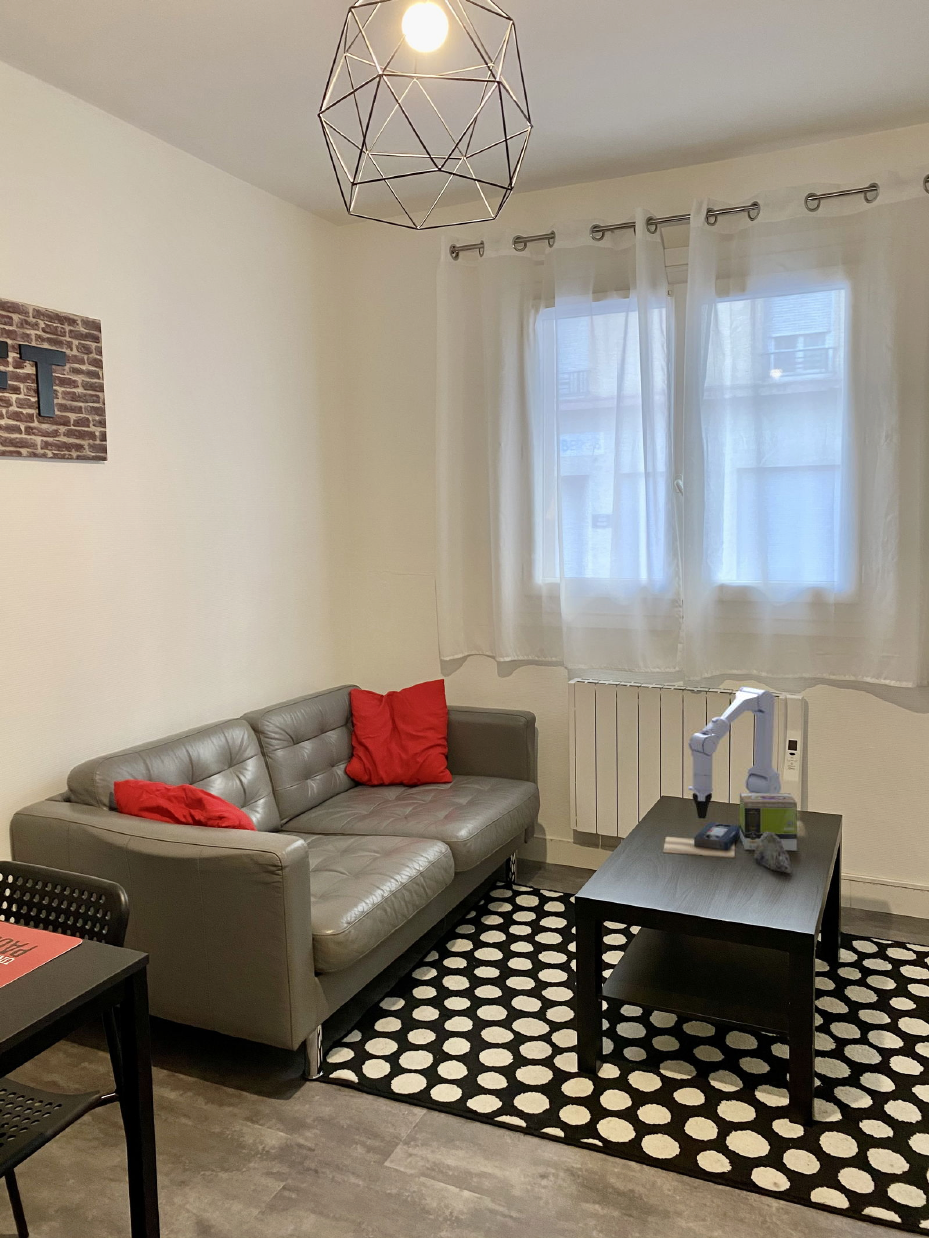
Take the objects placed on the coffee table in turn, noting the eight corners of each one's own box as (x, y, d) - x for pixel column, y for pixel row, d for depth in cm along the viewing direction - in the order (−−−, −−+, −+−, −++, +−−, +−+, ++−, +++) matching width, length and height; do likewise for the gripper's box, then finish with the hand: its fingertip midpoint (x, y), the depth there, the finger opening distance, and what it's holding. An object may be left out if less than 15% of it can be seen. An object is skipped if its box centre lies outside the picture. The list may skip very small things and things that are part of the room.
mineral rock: (790, 879, 262) (791, 843, 261) (749, 874, 266) (749, 838, 265) (794, 863, 274) (795, 828, 273) (754, 858, 278) (755, 824, 277)
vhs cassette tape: (709, 821, 304) (742, 825, 299) (709, 830, 304) (742, 835, 299) (693, 835, 287) (727, 840, 283) (693, 845, 288) (727, 850, 283)
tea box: (790, 840, 293) (791, 792, 291) (797, 852, 283) (798, 802, 281) (738, 838, 295) (739, 791, 293) (743, 850, 285) (744, 800, 283)
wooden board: (666, 837, 297) (666, 836, 296) (734, 842, 291) (734, 841, 291) (663, 852, 284) (663, 851, 284) (734, 858, 278) (734, 857, 278)
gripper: (689, 766, 300) (689, 809, 301) (687, 779, 286) (687, 824, 287) (713, 767, 298) (713, 811, 299) (712, 780, 284) (711, 825, 285)
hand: (701, 817), depth 293 cm, fingers closed
